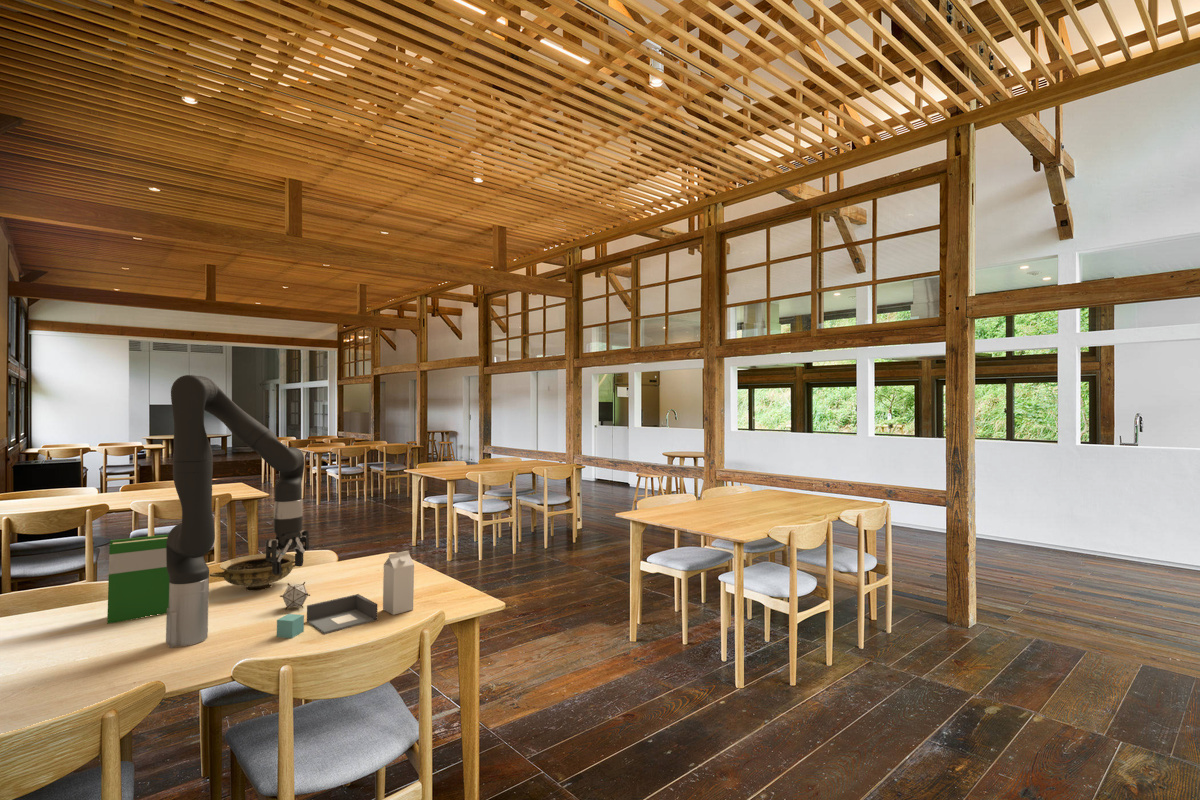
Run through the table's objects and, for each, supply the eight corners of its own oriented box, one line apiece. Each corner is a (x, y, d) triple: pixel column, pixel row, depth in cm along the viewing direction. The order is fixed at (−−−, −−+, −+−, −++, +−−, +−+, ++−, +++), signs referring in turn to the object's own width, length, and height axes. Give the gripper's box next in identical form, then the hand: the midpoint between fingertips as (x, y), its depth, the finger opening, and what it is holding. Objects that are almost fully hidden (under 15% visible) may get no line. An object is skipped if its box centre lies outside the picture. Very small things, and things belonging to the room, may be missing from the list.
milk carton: (382, 610, 189) (383, 552, 189) (402, 604, 194) (403, 548, 194) (393, 615, 184) (394, 556, 184) (413, 610, 189) (414, 552, 190)
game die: (296, 620, 189) (293, 602, 183) (275, 609, 190) (272, 590, 185) (317, 600, 196) (314, 581, 190) (297, 589, 198) (294, 571, 192)
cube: (292, 638, 165) (292, 620, 165) (276, 637, 166) (276, 619, 166) (303, 631, 170) (304, 614, 170) (288, 630, 171) (288, 613, 171)
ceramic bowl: (296, 573, 230) (297, 548, 230) (310, 588, 211) (311, 560, 211) (205, 587, 211) (206, 560, 211) (212, 604, 192) (213, 574, 192)
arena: (324, 634, 168) (324, 616, 168) (306, 621, 178) (307, 605, 178) (377, 620, 180) (377, 604, 180) (357, 609, 189) (358, 593, 189)
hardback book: (107, 623, 174) (109, 544, 175) (107, 616, 180) (109, 540, 180) (178, 611, 186) (180, 537, 186) (177, 605, 191) (179, 533, 192)
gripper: (280, 520, 161) (280, 578, 161) (316, 511, 175) (316, 564, 175) (258, 519, 163) (258, 576, 163) (295, 510, 177) (295, 562, 177)
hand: (288, 570), depth 169 cm, fingers open, 8 cm apart
